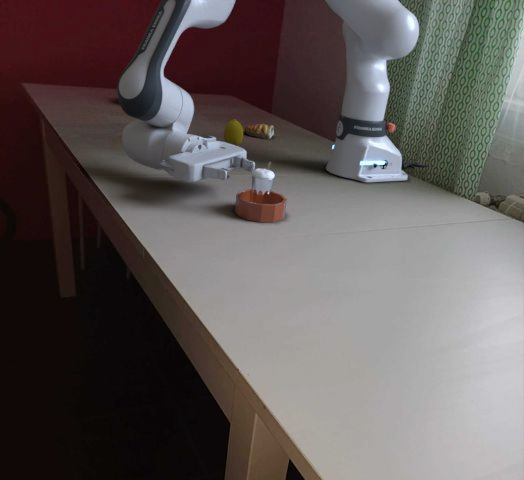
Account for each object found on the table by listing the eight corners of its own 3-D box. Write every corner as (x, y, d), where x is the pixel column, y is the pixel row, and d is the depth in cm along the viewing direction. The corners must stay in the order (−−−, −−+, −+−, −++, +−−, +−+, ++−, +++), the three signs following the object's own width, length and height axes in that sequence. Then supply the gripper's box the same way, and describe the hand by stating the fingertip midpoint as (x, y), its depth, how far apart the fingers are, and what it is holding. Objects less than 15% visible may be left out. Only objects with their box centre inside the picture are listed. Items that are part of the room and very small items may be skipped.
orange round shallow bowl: (275, 205, 117) (277, 189, 115) (290, 222, 109) (292, 205, 107) (230, 205, 114) (231, 188, 112) (243, 222, 106) (244, 205, 104)
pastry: (242, 135, 172) (243, 122, 170) (246, 131, 178) (247, 119, 176) (270, 139, 171) (272, 127, 169) (274, 136, 177) (275, 123, 175)
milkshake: (275, 212, 113) (281, 164, 107) (264, 219, 108) (270, 169, 103) (255, 207, 114) (260, 159, 108) (244, 214, 110) (248, 164, 104)
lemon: (239, 152, 153) (241, 122, 149) (220, 149, 154) (222, 119, 150) (243, 148, 158) (246, 119, 154) (225, 145, 158) (227, 116, 154)
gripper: (154, 147, 105) (211, 163, 100) (215, 134, 120) (267, 147, 115) (154, 180, 109) (209, 197, 103) (213, 163, 124) (264, 177, 118)
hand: (240, 170), depth 109 cm, fingers open, 8 cm apart
